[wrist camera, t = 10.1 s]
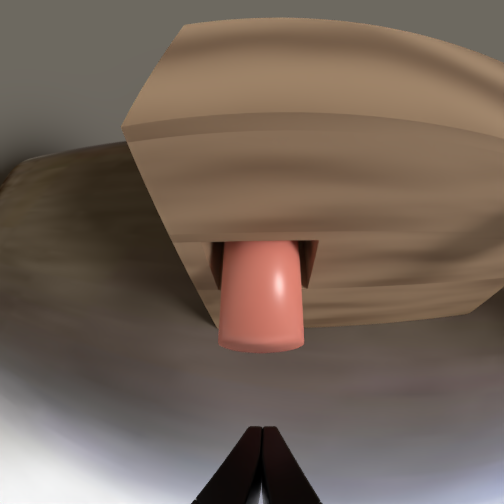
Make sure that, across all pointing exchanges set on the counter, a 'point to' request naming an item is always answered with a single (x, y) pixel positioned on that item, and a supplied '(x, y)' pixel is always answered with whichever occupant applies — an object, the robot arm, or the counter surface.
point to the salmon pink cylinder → (261, 297)
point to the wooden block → (330, 162)
